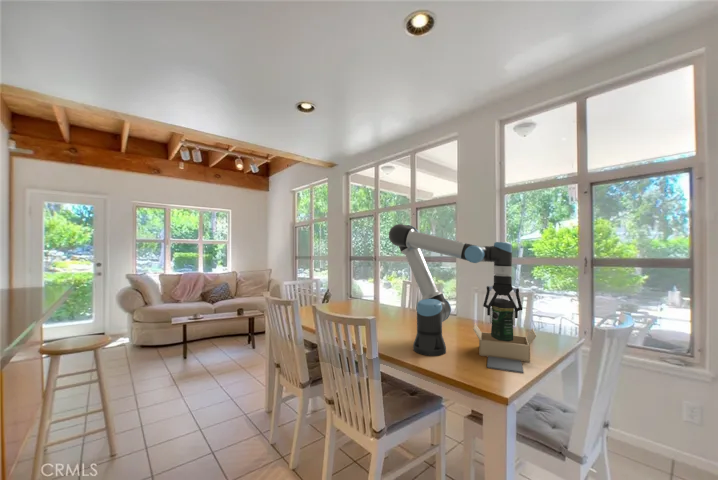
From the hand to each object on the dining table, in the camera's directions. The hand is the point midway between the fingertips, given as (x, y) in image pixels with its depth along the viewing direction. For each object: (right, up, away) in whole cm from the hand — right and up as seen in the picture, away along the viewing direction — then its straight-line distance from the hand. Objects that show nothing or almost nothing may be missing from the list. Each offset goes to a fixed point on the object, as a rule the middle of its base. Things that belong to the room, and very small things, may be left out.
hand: (502, 323), depth 141 cm
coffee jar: (0, -7, 0) cm, 7 cm away
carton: (0, -14, -1) cm, 14 cm away
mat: (-6, -13, -14) cm, 20 cm away
